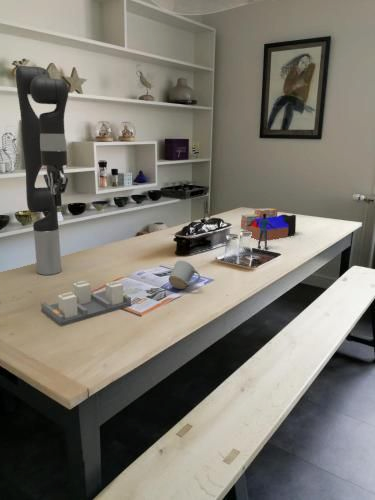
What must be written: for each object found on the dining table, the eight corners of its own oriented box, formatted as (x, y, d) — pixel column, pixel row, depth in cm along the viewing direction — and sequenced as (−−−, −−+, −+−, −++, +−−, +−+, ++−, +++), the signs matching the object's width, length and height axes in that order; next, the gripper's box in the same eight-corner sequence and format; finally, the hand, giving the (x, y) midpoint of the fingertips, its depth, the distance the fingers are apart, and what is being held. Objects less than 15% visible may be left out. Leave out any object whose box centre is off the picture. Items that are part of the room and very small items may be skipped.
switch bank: (41, 310, 130) (40, 301, 129) (108, 293, 145) (108, 285, 144) (60, 326, 120) (60, 316, 119) (131, 305, 135) (130, 297, 134)
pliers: (210, 231, 244) (212, 197, 239) (211, 231, 243) (213, 197, 239) (201, 233, 236) (203, 198, 232) (202, 233, 236) (204, 198, 231)
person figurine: (275, 250, 203) (278, 214, 199) (271, 252, 200) (273, 215, 195) (255, 246, 210) (257, 211, 205) (251, 248, 206) (253, 212, 202)
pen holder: (290, 230, 239) (289, 213, 236) (299, 233, 231) (299, 216, 228) (275, 232, 237) (275, 215, 233) (284, 236, 228) (284, 219, 225)
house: (246, 238, 228) (247, 217, 225) (273, 234, 238) (274, 214, 235) (260, 242, 218) (262, 220, 215) (288, 238, 228) (290, 217, 225)
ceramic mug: (175, 291, 152) (162, 277, 149) (184, 275, 157) (172, 261, 154) (196, 288, 145) (183, 273, 141) (205, 271, 150) (193, 256, 146)
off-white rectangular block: (73, 301, 135) (72, 281, 133) (85, 298, 137) (84, 278, 135) (79, 305, 132) (78, 284, 130) (91, 301, 134) (90, 282, 132)
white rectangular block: (106, 301, 135) (105, 281, 133) (116, 298, 137) (116, 279, 135) (112, 305, 132) (111, 285, 130) (123, 302, 134) (122, 282, 133)
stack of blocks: (246, 232, 241) (247, 211, 238) (240, 230, 247) (241, 209, 244) (276, 229, 250) (277, 209, 247) (270, 227, 256) (271, 207, 252)
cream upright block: (59, 314, 125) (57, 293, 123) (71, 310, 127) (70, 290, 125) (65, 318, 122) (63, 297, 120) (77, 315, 124) (76, 293, 122)
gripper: (32, 148, 128) (37, 204, 133) (50, 150, 118) (55, 210, 123) (56, 148, 133) (59, 202, 137) (75, 150, 123) (78, 207, 128)
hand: (57, 206), depth 130 cm, fingers closed
